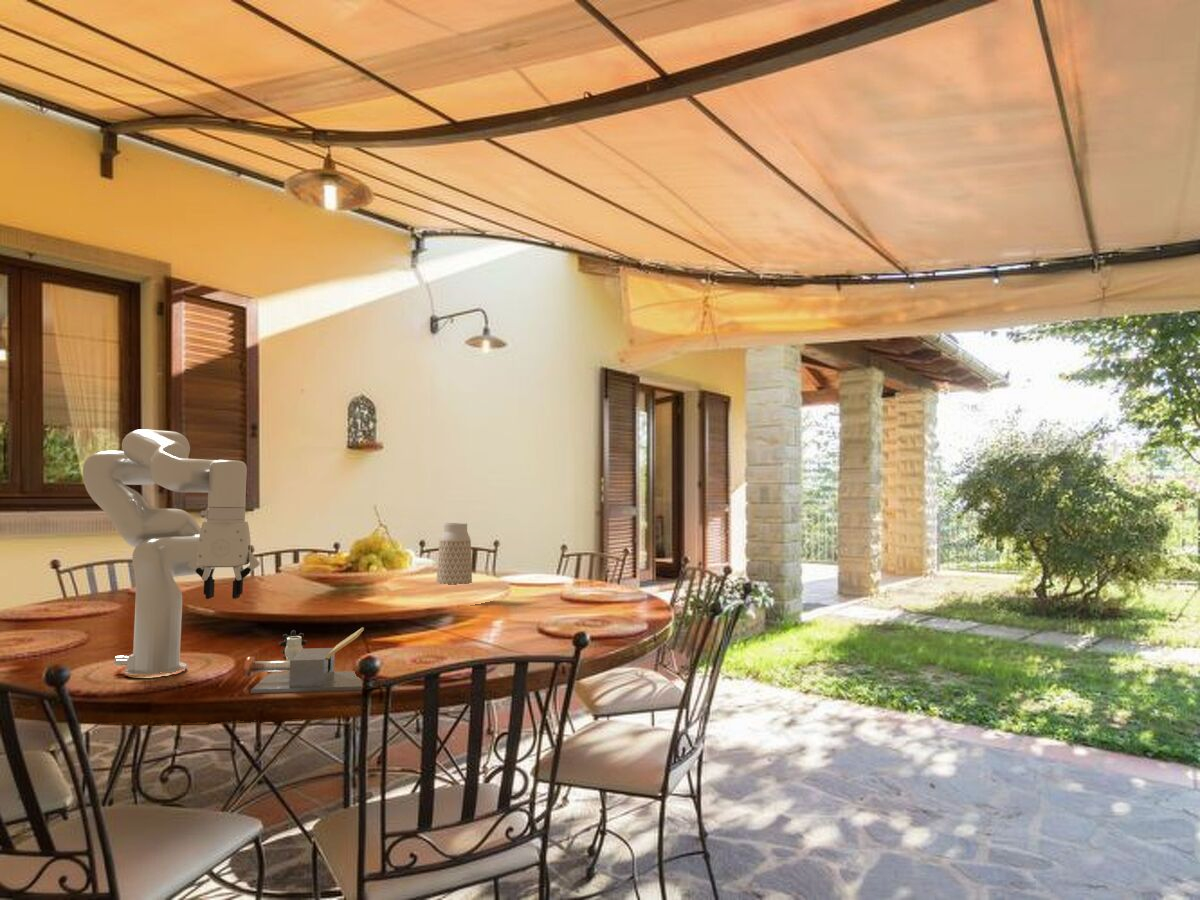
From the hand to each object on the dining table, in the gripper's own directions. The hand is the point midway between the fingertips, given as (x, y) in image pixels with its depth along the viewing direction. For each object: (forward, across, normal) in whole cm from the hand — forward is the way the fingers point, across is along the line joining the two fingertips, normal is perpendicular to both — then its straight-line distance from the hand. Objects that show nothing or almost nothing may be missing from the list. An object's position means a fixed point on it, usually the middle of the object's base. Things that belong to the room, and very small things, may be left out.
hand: (223, 597), depth 162 cm
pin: (+18, +13, 0) cm, 22 cm away
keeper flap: (+11, +27, 0) cm, 29 cm away
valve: (+20, +10, +24) cm, 32 cm away
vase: (+20, +46, +120) cm, 130 cm away
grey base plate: (+19, +20, 0) cm, 28 cm away
